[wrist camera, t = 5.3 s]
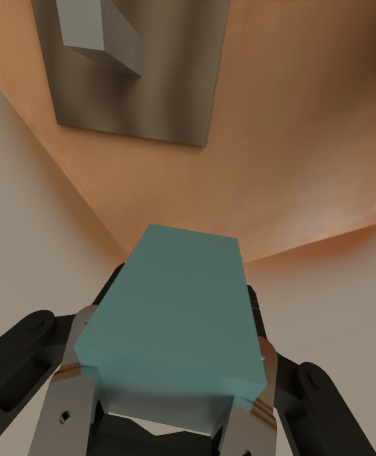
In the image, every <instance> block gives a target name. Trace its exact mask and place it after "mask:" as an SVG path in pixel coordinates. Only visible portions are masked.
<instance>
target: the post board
mask: <svg viewBox="0 0 376 456" xmlns="http://www.w3.org/2000/svg"><path fill="white" fill-rule="evenodd" d="M111 1H112V3H113V4H114V5H115V6H116V7H117V9H118V10H119V11H120V12H121V14H122V15H123V16H124V17H125V19H126V20H127V21H128V22H129V24H130V25H131V26H132V27H133V28H134V30H135V31H136V32H137V33H138V35H139V36H140V37H141V38H142V77H141V76H134V75H127V74H120V73H115V72H113V71H111V70H109V69H107V68H105V67H103V66H102V65H100V64H98V63H96V62H94V61H92V60H90V59H89V58H87V57H85V56H83V55H81V54H79V53H77V52H75V51H74V50H72V49H70V48H68V47H66V46H64V44H63V38H62V32H61V26H60V20H59V14H58V8H57V2H56V0H31V2H32V7H33V11H34V16H35V21H36V25H37V30H38V35H39V39H40V44H41V49H42V54H43V58H44V63H45V68H46V72H47V77H48V82H49V86H50V91H51V96H52V101H53V105H54V110H55V115H56V119H57V124H58V125H65V126H72V127H78V128H85V129H91V130H98V131H104V132H111V133H117V134H124V135H130V136H137V137H143V138H150V139H157V140H163V141H170V142H176V143H183V144H189V145H196V146H202V147H206V143H207V136H208V130H209V124H210V118H211V112H212V106H213V100H214V94H215V88H216V81H217V75H218V69H219V63H220V57H221V51H222V45H223V39H224V33H225V27H226V20H227V14H228V8H229V2H230V0H111Z"/></svg>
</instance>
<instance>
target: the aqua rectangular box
mask: <svg viewBox="0 0 376 456" xmlns="http://www.w3.org/2000/svg"><path fill="white" fill-rule="evenodd" d="M73 347H74V349H75V352H76V354H77V357H78V359H79V362H80V364H81V366H93V367H98V370H99V373H100V376H101V380H102V383H103V386H104V390H105V393H106V396H107V399H108V403H109V412H111V413H116V414H120V415H125V416H129V417H134V418H139V419H143V420H148V421H152V422H157V423H162V424H167V425H171V426H175V427H180V428H185V429H189V430H194V431H198V432H203V433H208V434H211V432H212V429H213V426H214V425H215V423H216V422H217V420H218V419H219V417H220V416H221V415H222V413H223V412H224V410H225V409H226V407H227V406H228V404H229V403H230V401H231V400H232V398H233V397H234V396H238V397H242V398H244V399H247V400H249V401H251V402H254V401H255V399H256V398H257V397H258V396H259V395H260V394H261V393H262V391H263V390H264V389H265V388H266V387H267V386H268V385H267V380H266V375H265V371H264V366H263V361H262V356H261V351H260V346H259V342H258V337H257V332H256V327H255V322H254V317H253V313H252V308H251V303H250V298H249V293H248V288H247V284H246V279H245V274H244V269H243V264H242V259H241V255H240V250H239V245H238V240H237V238H231V237H225V236H219V235H213V234H207V233H201V232H195V231H189V230H183V229H177V228H171V227H166V226H160V225H154V224H150V225H149V227H148V228H147V230H146V231H145V233H144V235H143V236H142V238H141V239H140V241H139V242H138V244H137V246H136V247H135V249H134V250H133V252H132V254H131V255H130V257H129V258H128V260H127V262H126V263H125V265H124V266H123V268H122V269H121V271H120V273H119V274H118V276H117V277H116V279H115V281H114V282H113V284H112V285H111V287H110V289H109V290H108V292H107V293H106V295H105V296H104V298H103V300H102V301H101V303H100V304H99V306H98V308H97V309H96V311H95V312H94V314H93V316H92V317H91V319H90V320H89V322H88V324H87V325H86V327H85V328H84V330H83V331H82V333H81V335H80V336H79V338H78V339H77V341H76V343H75V344H74V346H73Z"/></svg>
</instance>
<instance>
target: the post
mask: <svg viewBox="0 0 376 456" xmlns="http://www.w3.org/2000/svg"><path fill="white" fill-rule="evenodd" d="M56 2H57V8H58V14H59V20H60V26H61V32H62V38H63V44H64V46H66V47H68V48H70V49H72V50H74V51H75V52H77V53H79V54H81V55H83V56H85V57H87V58H89V59H90V60H92V61H94V62H96V63H98V64H100V65H102V66H103V67H105V68H107V69H109V70H111V71H113V72H115V73H120V74H127V75H134V76H141V77H142V38H141V37H140V36H139V35H138V33H137V32H136V31H135V30H134V28H133V27H132V26H131V25H130V24H129V22H128V21H127V20H126V19H125V17H124V16H123V15H122V14H121V12H120V11H119V10H118V9H117V7H116V6H115V5H114V4H113V3H112V1H111V0H56Z"/></svg>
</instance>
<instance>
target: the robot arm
mask: <svg viewBox="0 0 376 456" xmlns="http://www.w3.org/2000/svg"><path fill="white" fill-rule="evenodd" d="M124 265H125V263H122V264H121V265H120V266H118V267H117V268H116V269H115V271H114V272H113V274H112V276H111V277H110V278H109V280H108V281H107V283H106V284H105V286H104V287H103V289H102V290H101V292H100V293H99V294H98V296H97V298H96V299H95V301H94V302H93V303H92V305H90V306H87V307H85V308H83V309H82V310H80V311H79V312H78V313H77V314H73V315H66V316H58V317H55V316H54V314H53V313H52V312H51V311H49V310H39V311H36V312H33V313H31V314H29V315H28V316H26V317H25V318H23V319H22V320H21V321H19V322H18V323H17V324H16V325H15V326H13V327H12V328H11V329H10V330H9V331H7V332H6V333H5V334H3V335H2V336H1V337H0V435H1V434H2V433H3V432H4V431H5V430H6V428H7V427H8V426H9V425H10V424H11V422H12V421H13V420H14V419H15V418H16V416H17V415H18V414H19V413H20V412H21V410H22V409H23V408H24V406H25V405H26V404H27V403H28V402H29V401H30V400H31V398H32V397H33V396H34V395H35V394H36V392H37V391H38V390H39V389H40V387H41V386H42V385H43V384H44V383H45V382H46V380H47V379H48V378H49V377H50V376H51V375H52V373H53V372H54V371H55V370H56V369H57V367H58V366H59V365H60V364H61V367H60V369H59V370H58V371H57V372H55V373H54V375H53V376H52V378H51V381H50V383H49V386H48V390H47V393H46V396H45V400H44V403H43V407H42V410H41V414H40V417H39V420H38V424H37V427H36V430H35V433H34V437H33V440H32V443H31V447H30V450H29V453H28V456H275V452H276V438H277V423H276V419H275V418H274V416H273V407H275V408H276V409H277V412H278V414H279V417H280V420H281V422H282V425H283V428H284V431H285V433H286V436H287V439H288V442H289V445H290V447H291V450H292V453H293V456H376V452H375V450H374V449H373V447H372V446H371V444H370V442H369V441H368V439H367V437H366V436H365V434H364V432H363V431H362V429H361V428H360V426H359V424H358V423H357V421H356V419H355V418H354V416H353V414H352V413H351V411H350V409H349V408H348V406H347V405H346V403H345V401H344V400H343V398H342V396H341V395H340V393H339V391H338V390H337V388H336V386H335V385H334V383H333V382H332V380H331V379H330V377H329V376H328V375H327V374H326V372H325V371H324V370H322V369H321V368H320V367H319V366H317V365H315V364H313V363H310V362H303V363H301V364H300V365H298V364H296V363H294V362H292V361H291V360H289V359H287V358H285V357H283V356H282V355H280V354H279V353H277V352H276V350H275V349H274V347H273V346H272V344H271V343H270V342H269V341H268V339H267V337H266V333H265V329H264V325H263V321H262V317H261V313H260V310H259V305H258V301H257V297H256V293H255V292H254V290H253V289H252V287H251V286H249V285H247V288H248V293H249V298H250V303H251V308H252V313H253V317H254V322H255V327H256V332H257V337H258V342H259V346H260V351H261V356H262V361H263V366H264V371H265V375H266V380H267V385H268V386H267V387H266V388H265V389H264V390H263V391H262V393H261V394H260V395H259V396H258V397H257V398H256V399H255V401H254V402H251V401H249V400H247V399H244V398H242V397H238V396H234V397H233V398H232V400H231V401H230V403H229V404H228V406H227V407H226V409H225V410H224V412H223V413H222V415H221V416H220V417H219V419H218V420H217V422H216V423H215V425H214V426H213V429H212V432H211V435H210V436H205V435H201V434H196V433H191V432H187V431H182V432H176V433H170V434H165V435H159V436H155V435H153V434H151V433H150V432H148V431H147V430H145V429H144V428H142V427H141V426H139V425H138V424H137V423H135V422H134V421H132V420H131V419H128V418H123V417H119V416H114V415H109V414H108V412H109V403H108V399H107V396H106V393H105V390H104V386H103V383H102V380H101V376H100V373H99V370H98V367H93V366H81V364H80V362H79V359H78V357H77V354H76V352H75V349H74V347H73V346H74V344H75V343H76V341H77V339H78V338H79V336H80V335H81V333H82V331H83V330H84V328H85V327H86V325H87V324H88V322H89V320H90V319H91V317H92V316H93V314H94V312H95V311H96V309H97V308H98V306H99V304H100V303H101V301H102V300H103V298H104V296H105V295H106V293H107V292H108V290H109V289H110V287H111V285H112V284H113V282H114V281H115V279H116V277H117V276H118V274H119V273H120V271H121V269H122V268H123V266H124Z"/></svg>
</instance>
